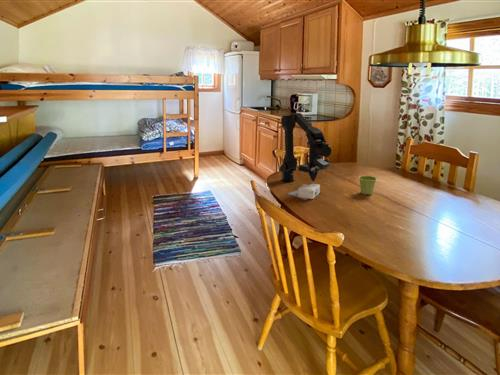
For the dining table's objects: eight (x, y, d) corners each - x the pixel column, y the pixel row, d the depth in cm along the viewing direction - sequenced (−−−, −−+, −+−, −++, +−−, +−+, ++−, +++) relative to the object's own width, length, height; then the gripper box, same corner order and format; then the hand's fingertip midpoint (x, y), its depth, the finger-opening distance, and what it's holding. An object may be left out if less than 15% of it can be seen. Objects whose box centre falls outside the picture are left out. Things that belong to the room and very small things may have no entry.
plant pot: (353, 192, 201) (355, 177, 198) (364, 189, 206) (365, 174, 204) (368, 197, 194) (369, 181, 191) (379, 193, 199) (380, 178, 196)
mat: (287, 193, 200) (287, 193, 200) (301, 189, 207) (301, 189, 207) (304, 199, 191) (304, 199, 191) (318, 195, 197) (318, 195, 197)
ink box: (305, 190, 204) (297, 197, 194) (305, 182, 203) (297, 188, 193) (320, 193, 200) (312, 199, 190) (320, 184, 199) (313, 190, 189)
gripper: (314, 158, 185) (312, 188, 190) (337, 153, 197) (335, 181, 201) (298, 155, 194) (297, 183, 199) (321, 150, 205) (320, 176, 210)
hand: (313, 181), depth 202 cm, fingers closed
